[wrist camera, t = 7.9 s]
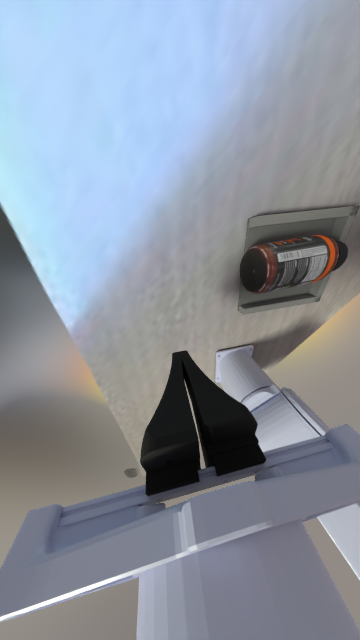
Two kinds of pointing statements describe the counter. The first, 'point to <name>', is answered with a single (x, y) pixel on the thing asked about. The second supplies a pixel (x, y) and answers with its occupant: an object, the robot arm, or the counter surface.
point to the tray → (291, 227)
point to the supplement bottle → (290, 262)
